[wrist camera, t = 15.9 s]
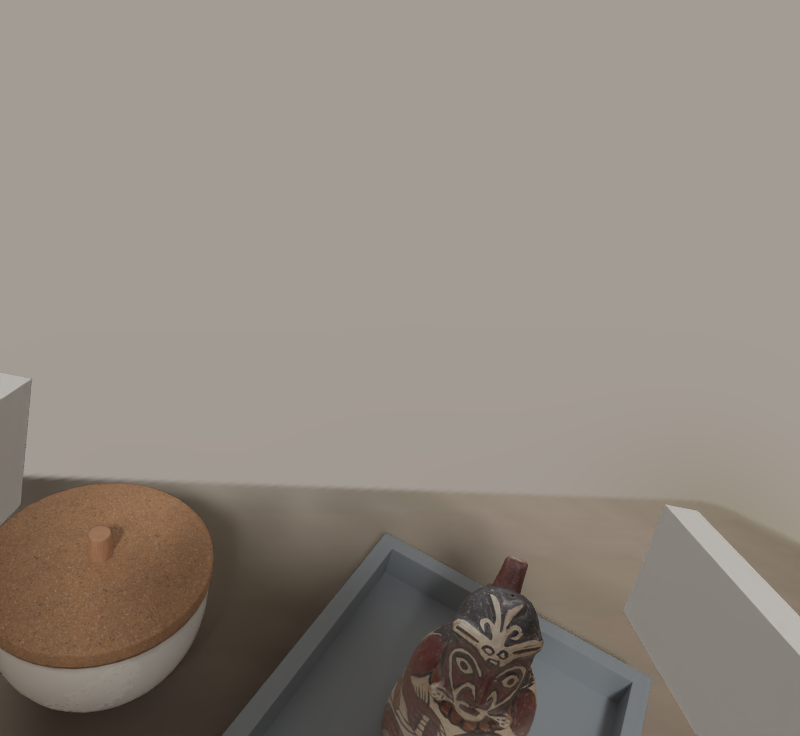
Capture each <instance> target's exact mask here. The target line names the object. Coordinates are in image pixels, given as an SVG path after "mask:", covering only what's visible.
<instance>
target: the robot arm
mask: <svg viewBox="0 0 800 736" xmlns="http://www.w3.org/2000/svg"><path fill="white" fill-rule="evenodd" d="M31 382H32V379H31V378H26V377H21V376H16V375H11V374H6V373H1V372H0V525H1V524H2V523H3V522H4V521H5V520H6V519H7V518H8V517H9V516H10V515H11V514H12V513H13V512H14V511H15V510H16V509H17V508H18V507H19V506H20V503H21V492H22V481H23V469H24V459H25V448H26V436H27V426H28V415H29V404H30V393H31ZM623 612H624V613H625V615H626V617H627V619H628V620H629V622H630V624H631V625H632V627H633V629H634V630H635V632H636V634H637V636H638V637H639V639H640V641H641V642H642V644H643V646H644V647H645V649H646V651H647V653H648V654H649V656H650V658H651V659H652V661H653V663H654V664H655V666H656V668H657V670H658V671H659V673H660V675H661V676H662V678H663V680H664V682H665V683H666V685H667V687H668V688H669V690H670V692H671V693H672V695H673V697H674V699H675V700H676V702H677V704H678V705H679V707H680V709H681V710H682V712H683V714H684V716H685V717H686V719H687V721H688V722H689V724H690V726H691V727H692V729H693V731H694V733H695V734H696V736H800V616H799V615H798V614H797V613H796V612H795V611H794V610H793V609H792V608H791V607H790V606H789V605H788V604H787V603H786V602H785V601H784V600H783V599H782V598H781V597H780V596H779V595H778V594H777V593H776V592H775V590H774V589H773V588H772V587H771V586H770V585H769V584H768V583H767V582H766V581H765V580H764V579H763V578H762V577H761V576H760V575H759V574H758V573H757V572H756V571H755V570H754V569H753V568H752V567H751V566H750V565H749V564H748V563H747V562H746V561H745V559H744V558H743V557H742V556H741V555H740V554H739V553H738V552H737V551H736V550H735V549H734V548H733V547H732V546H731V545H730V544H729V543H728V542H727V541H726V540H725V539H724V538H723V537H722V536H721V535H720V534H719V533H718V532H717V531H716V530H715V528H714V527H713V526H712V525H711V524H710V523H709V522H708V521H707V520H706V519H705V518H704V517H703V516H702V515H701V514H700V513H699V512H698V511H695V510H690V509H685V508H680V507H675V506H670V505H665V506H664V509H663V511H662V514H661V516H660V519H659V522H658V524H657V527H656V529H655V532H654V534H653V537H652V539H651V542H650V544H649V547H648V549H647V552H646V555H645V557H644V560H643V562H642V565H641V567H640V570H639V572H638V575H637V577H636V580H635V583H634V585H633V588H632V590H631V593H630V595H629V598H628V600H627V603H626V605H625V608H624V610H623Z"/></svg>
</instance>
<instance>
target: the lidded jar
mask: <svg viewBox="0 0 800 736" xmlns="http://www.w3.org/2000/svg"><path fill="white" fill-rule="evenodd" d="M213 566H214V548H213V543H212V539H211V535H210V533H209V531H208V529H207V527H206V525H205V524H204V522H203V521H202V519H201V518H200V517H199V515H198V514H197V513H196V512H194V511H193V510H192V509H191V508H190V507H189V506H188V505H186V504H185V503H183V502H182V501H181V500H179V499H178V498H176V497H174V496H172V495H169V494H167V493H165V492H163V491H160V490H157V489H154V488H151V487H146V486H141V485H135V484H125V483H103V484H92V485H85V486H81V487H76V488H71V489H68V490H65V491H61V492H58V493H55V494H52V495H50V496H48V497H45V498H43V499H41V500H38V501H37V502H35V503H33V504H31V505H29V506H27V507H26V508H24V509H22V510H21V511H20V512H18V513H17V514H15V515H14V516H13V517H11V518H10V519H9V520H8V521H7V522H5V523H4V524H3V525H2V526H1V527H0V671H1V673H2V674H3V676H4V677H5V678H6V680H7V681H8V682H9V683H10V684H11V685H12V686H13V687H14V688H15V689H16V690H17V691H18V692H19V693H21V694H23V695H24V696H26V697H27V698H29V699H31V700H32V701H34V702H36V703H38V704H40V705H43V706H45V707H48V708H51V709H55V710H60V711H66V712H94V711H102V710H106V709H110V708H114V707H117V706H120V705H123V704H125V703H128V702H130V701H132V700H134V699H136V698H138V697H140V696H142V695H144V694H146V693H147V692H149V691H150V690H151V689H153V688H154V687H156V686H157V685H158V684H160V683H161V682H162V681H163V680H164V679H165V678H166V677H167V676H168V675H169V674H171V672H172V671H173V670H174V669H175V668H176V666H177V665H178V664H179V663H180V661H181V660H182V659H183V658H184V657H185V655H186V653H187V652H188V650H189V648H190V647H191V645H192V643H193V641H194V639H195V637H196V635H197V632H198V630H199V627H200V625H201V622H202V619H203V616H204V612H205V608H206V603H207V598H208V592H209V586H210V583H211V578H212V573H213Z"/></svg>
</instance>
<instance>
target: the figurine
mask: <svg viewBox="0 0 800 736" xmlns="http://www.w3.org/2000/svg"><path fill="white" fill-rule="evenodd" d="M527 567H528V564H527V562H526V561H523V560H519V559H517V558H515V557H512V556H509V557H507V558H506V559H505V561H504V563H503V565H502V568H501V570H500V572H499V574H498V575H497V577H496V579H495V581H494V583H493V584H488V585H487V586H485V587H482V588H479V589H478V590H476V591H474V592H473V593H472V594H470V595H469V596H468V597H467V598H466V599H465V600H464V601H463V602H462V603H461V605H460V607H459V609H458V611H457V614H456V616H455V618H454V621H453V622H451V623H448V624H445V625H442V626H441V627H439V628H437V629H435V630H434V631H432V632H430V633H429V634H428V635H427V636H426V637H424V639H423V640H422V641H421V642H420V644H419V645H418V646H417V647H416V649H415V650H414V652H413V653H412V656H411V658H410V661H409V663H408V665H407V666H406V668H405V670H404V672H403V674H402V675H401V677H400V678H399V680H398V681H397V683H396V684H395V686H394V688H393V690H392V692H391V694H390V696H389V699H388V701H387V703H386V706H385V709H384V713H383V717H382V726H381V728H382V733H383V736H527V735H528V733H529V731H530V729H531V726H532V724H533V720H534V717H535V714H536V708H537V693H536V683H535V678H534V675H533V671H532V668H531V664H532V662H533V659H534V657H535V655H536V654H537V653H538V652H539V651H540V650H541V649H542V646H543V639H542V635H541V631H540V626H539V620H538V617H537V613H536V611H535V609H534V607H533V605H532V603H531V602H530V601H529V600H528V599H526V598H525V597H524V596H522V595H521V594H520V592H521V588H522V584H523V581H524V577H525V574H526V570H527Z"/></svg>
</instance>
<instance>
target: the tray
mask: <svg viewBox="0 0 800 736" xmlns="http://www.w3.org/2000/svg"><path fill="white" fill-rule="evenodd" d="M482 587H485V586H483V585H481V584H479V583H477V582H476V581H474V580H472V579H470V578H468V577H466V576H465V575H463V574H461V573H459V572H457V571H456V570H454V569H452V568H450V567H448V566H446V565H445V564H443V563H441V562H439V561H437V560H435V559H434V558H432V557H430V556H428V555H426V554H424V553H423V552H421V551H419V550H417V549H415V548H414V547H412V546H410V545H408V544H406V543H404V542H403V541H401V540H399V539H397V538H395V537H393V536H392V535H390V534H388V533H385V535H384V536H383V537H382V538H381V540H380V541H379V542H378V543H377V544H376V546H375V547H374V548H373V549H372V551H371V552H370V553H369V554H368V556H367V557H366V558H365V559H364V561H363V562H362V563H361V564H360V565H359V567H358V568H357V569H356V570H355V572H354V573H353V574H352V575H351V577H350V578H349V579H348V580H347V582H346V583H345V584H344V585H343V586H342V588H341V589H340V590H339V591H338V593H337V594H336V595H335V596H334V598H333V599H332V600H331V601H330V602H329V604H328V605H327V606H326V607H325V609H324V610H323V611H322V612H321V614H320V615H319V616H318V617H317V619H316V620H315V621H314V622H313V623H312V625H311V626H310V627H309V628H308V630H307V631H306V632H305V633H304V635H303V636H302V637H301V638H300V640H299V641H298V642H297V643H296V644H295V646H294V647H293V648H292V649H291V651H290V652H289V653H288V654H287V656H286V657H285V658H284V659H283V661H282V662H281V663H280V664H279V665H278V667H277V668H276V669H275V670H274V672H273V673H272V674H271V675H270V677H269V678H268V679H267V680H266V682H265V683H264V684H263V685H262V686H261V688H260V689H259V690H258V691H257V693H256V694H255V695H254V696H253V698H252V699H251V700H250V701H249V702H248V704H247V705H246V706H245V707H244V709H243V710H242V711H241V712H240V714H239V715H238V716H237V717H236V719H235V720H234V721H233V722H232V723H231V725H230V726H229V727H228V728H227V730H226V731H225V732H224V733H223V735H222V736H383V733H382V728H381V726H382V717H383V713H384V709H385V706H386V703H387V701H388V699H389V696H390V694H391V692H392V690H393V688H394V686H395V684H396V683H397V681H398V680H399V678H400V677H401V675H402V674H403V672H404V670H405V668H406V666H407V665H408V663H409V661H410V658H411V656H412V653H413V652H414V650H415V649H416V647H417V646H418V645H419V644H420V642H421V641H422V640H423V639H424V637H426V636H427V635H428V634H429V633H430V632H432V631H434V630H435V629H437V628H439V627H441V626H442V625H445V624H448V623H451V622H453V621H454V618H455V616H456V614H457V611H458V609H459V607H460V605H461V603H462V602H463V601H464V600H465V599H466V598H467V597H468V596H469V595H470V594H472V593H473V592H474V591H476V590H478V589H479V588H482ZM537 617H538V620H539V626H540V631H541V635H542V639H543V646H542V649H541V650H540V651H539V652H538V653H537V654H536V655H535V657H534V659H533V662H532V664H531V668H532V671H533V675H534V678H535V683H536V693H537V708H536V714H535V717H534V720H533V724H532V726H531V729H530V731H529V733H528V735H527V736H641V733H642V728H643V723H644V718H645V713H646V708H647V703H648V698H649V693H650V688H651V683H652V678H651V677H649V676H647V675H645V674H644V673H642V672H640V671H638V670H636V669H634V668H633V667H631V666H629V665H627V664H625V663H624V662H622V661H620V660H618V659H616V658H614V657H613V656H611V655H609V654H607V653H605V652H603V651H602V650H600V649H598V648H596V647H594V646H592V645H591V644H589V643H587V642H585V641H583V640H582V639H580V638H578V637H576V636H574V635H572V634H571V633H569V632H567V631H565V630H563V629H561V628H560V627H558V626H556V625H554V624H552V623H550V622H549V621H547V620H545V619H543V618H541V617H540V616H538V615H537Z"/></svg>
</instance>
